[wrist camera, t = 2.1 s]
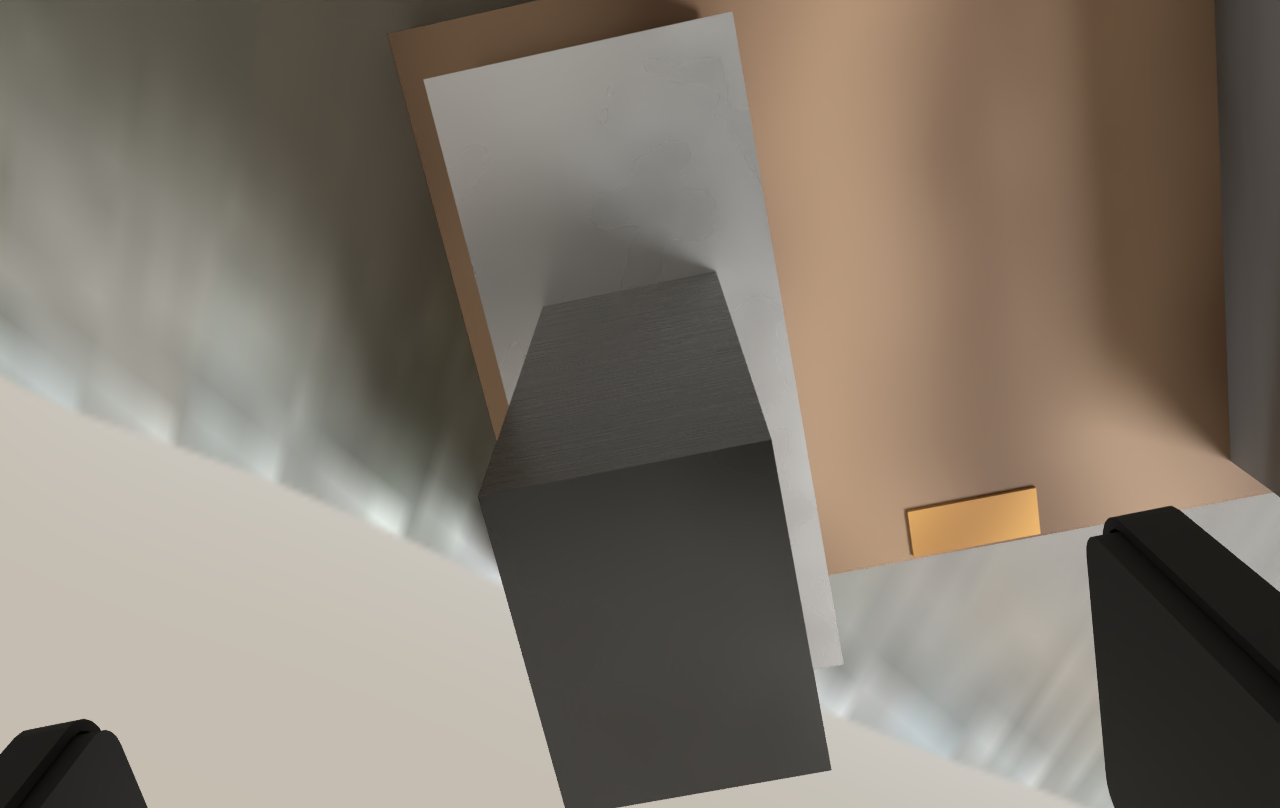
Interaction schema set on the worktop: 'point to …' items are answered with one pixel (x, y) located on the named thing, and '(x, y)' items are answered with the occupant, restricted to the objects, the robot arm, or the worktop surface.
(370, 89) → the worktop surface
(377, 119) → the worktop surface
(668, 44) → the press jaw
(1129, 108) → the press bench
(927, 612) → the worktop surface
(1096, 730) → the worktop surface
